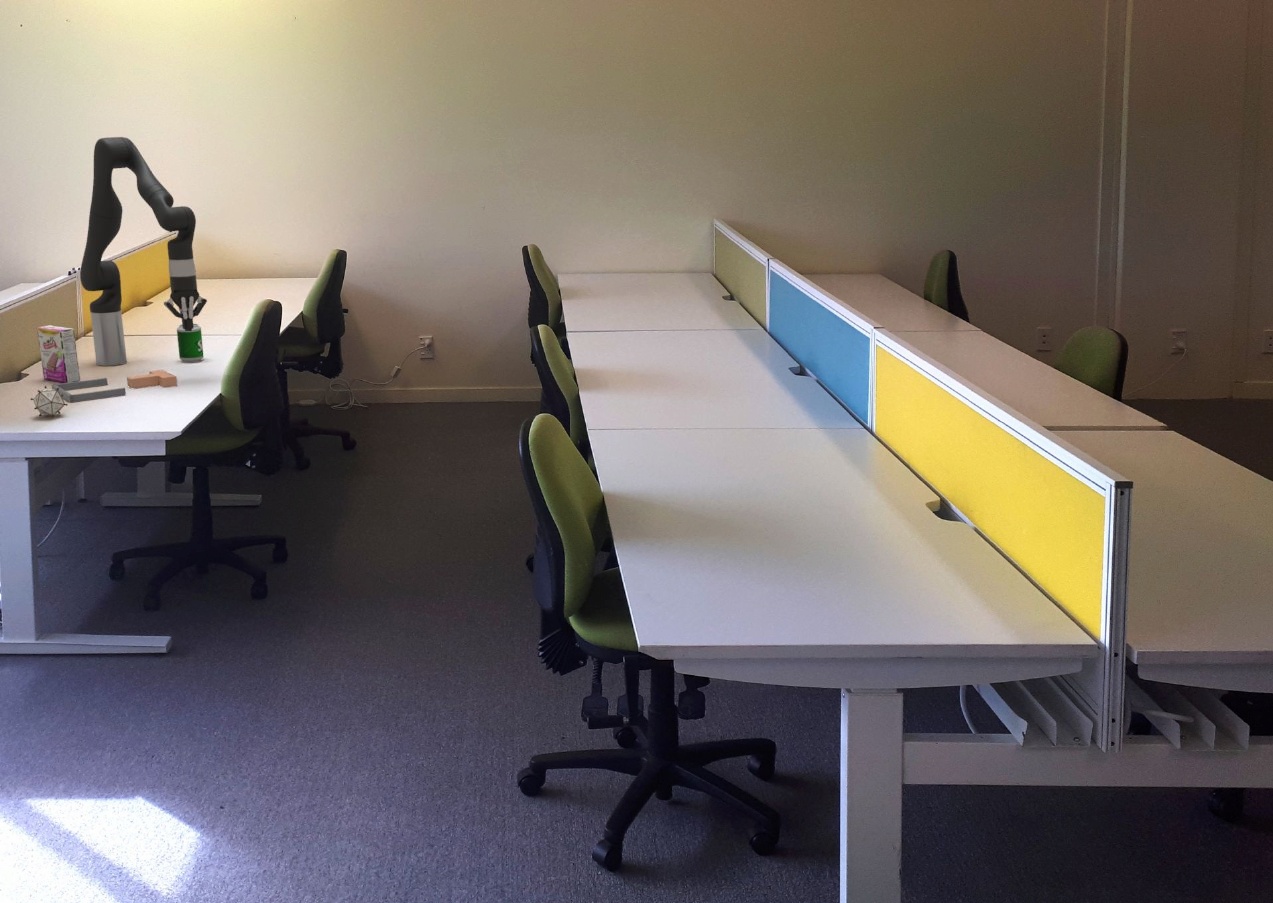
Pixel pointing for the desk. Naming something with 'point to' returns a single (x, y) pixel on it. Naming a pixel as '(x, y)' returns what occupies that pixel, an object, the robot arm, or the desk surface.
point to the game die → (49, 401)
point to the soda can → (190, 344)
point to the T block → (152, 379)
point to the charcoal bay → (88, 395)
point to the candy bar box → (58, 354)
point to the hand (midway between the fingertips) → (188, 330)
